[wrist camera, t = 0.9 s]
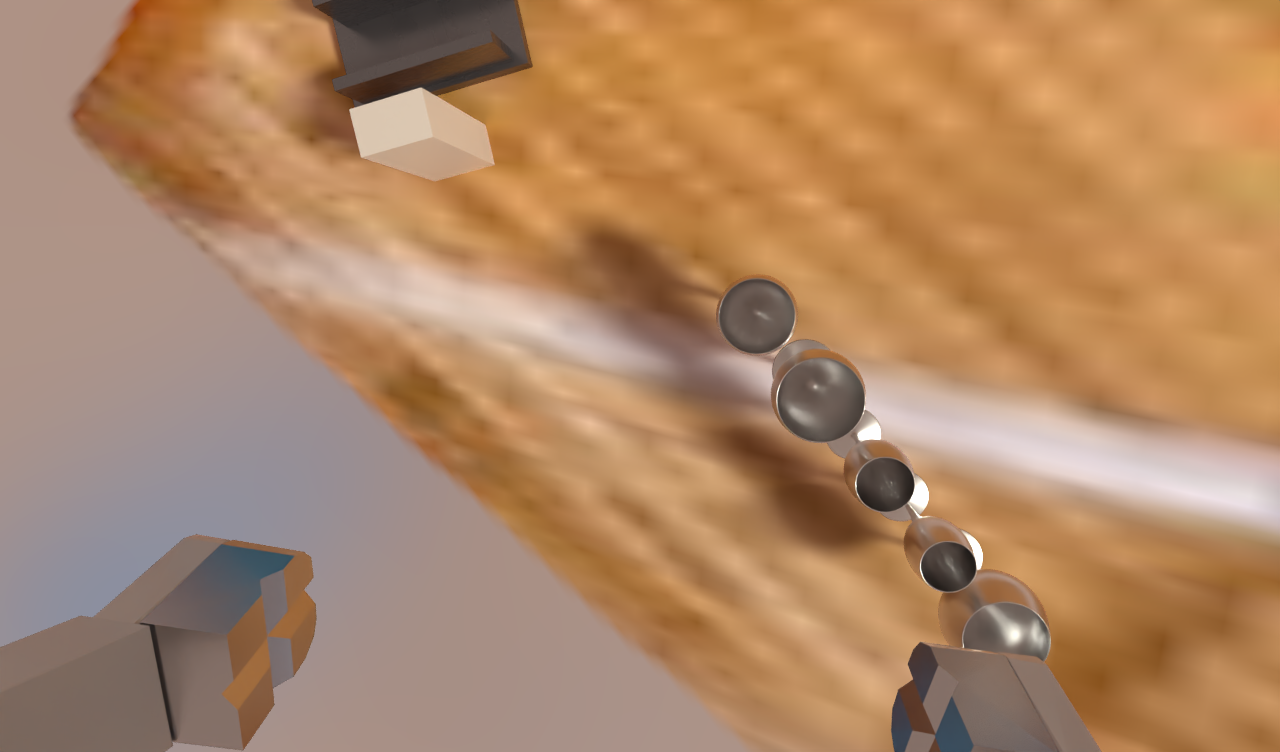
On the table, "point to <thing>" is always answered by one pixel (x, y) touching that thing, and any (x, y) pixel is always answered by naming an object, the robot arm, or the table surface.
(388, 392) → the table surface
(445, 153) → the tall cream block
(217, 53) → the table surface
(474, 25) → the dish rack
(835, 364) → the goblet set
